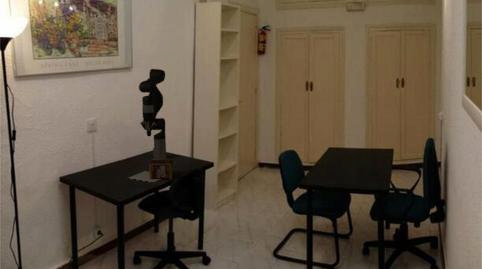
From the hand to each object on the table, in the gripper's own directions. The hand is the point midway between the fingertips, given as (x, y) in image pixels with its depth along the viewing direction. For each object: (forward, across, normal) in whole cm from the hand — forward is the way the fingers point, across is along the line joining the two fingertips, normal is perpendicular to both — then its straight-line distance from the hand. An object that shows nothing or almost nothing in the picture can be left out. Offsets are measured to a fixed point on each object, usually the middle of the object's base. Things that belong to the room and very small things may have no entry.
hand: (149, 136), depth 331 cm
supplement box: (+24, +2, +10) cm, 26 cm away
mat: (+29, 0, -2) cm, 29 cm away
